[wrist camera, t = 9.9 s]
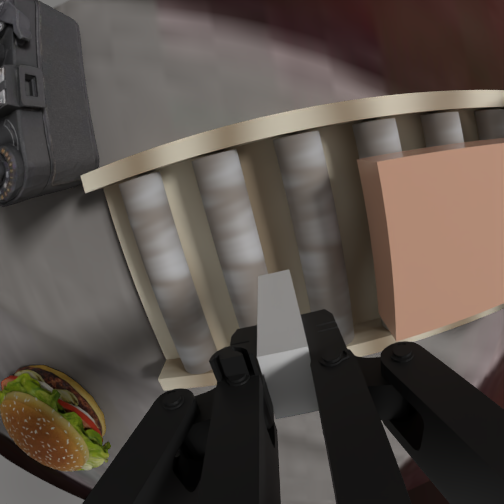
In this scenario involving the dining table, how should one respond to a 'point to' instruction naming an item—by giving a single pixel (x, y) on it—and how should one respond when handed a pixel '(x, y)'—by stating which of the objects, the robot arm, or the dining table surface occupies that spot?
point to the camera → (42, 103)
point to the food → (53, 419)
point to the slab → (436, 233)
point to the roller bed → (271, 218)
